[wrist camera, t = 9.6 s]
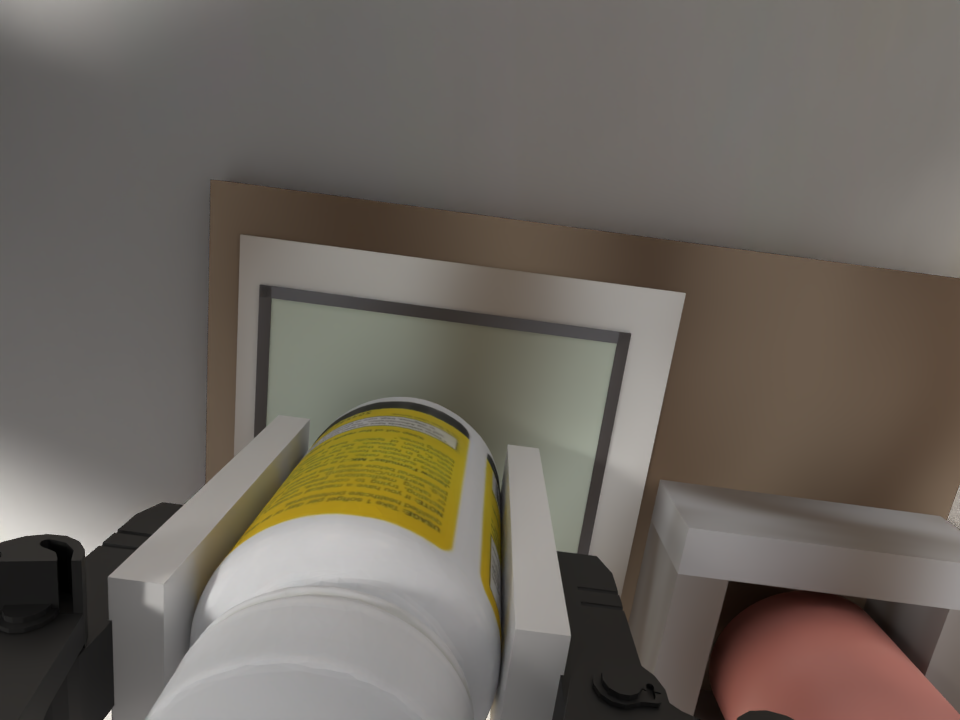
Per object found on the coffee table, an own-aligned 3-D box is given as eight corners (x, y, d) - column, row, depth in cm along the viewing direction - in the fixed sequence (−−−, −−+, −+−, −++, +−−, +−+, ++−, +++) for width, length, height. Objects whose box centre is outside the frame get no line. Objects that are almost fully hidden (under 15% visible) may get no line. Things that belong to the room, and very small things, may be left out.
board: (213, 648, 19) (156, 736, 16) (222, 180, 15) (153, 173, 12) (851, 730, 19) (922, 834, 16) (1005, 284, 15) (1134, 304, 12)
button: (692, 725, 16) (736, 841, 13) (730, 579, 15) (788, 670, 12) (857, 746, 16) (938, 867, 13) (907, 602, 15) (1008, 698, 12)
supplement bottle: (271, 461, 15) (-3, 759, 7) (423, 354, 14) (318, 546, 6) (389, 601, 16) (271, 1017, 8) (538, 507, 15) (585, 857, 7)
